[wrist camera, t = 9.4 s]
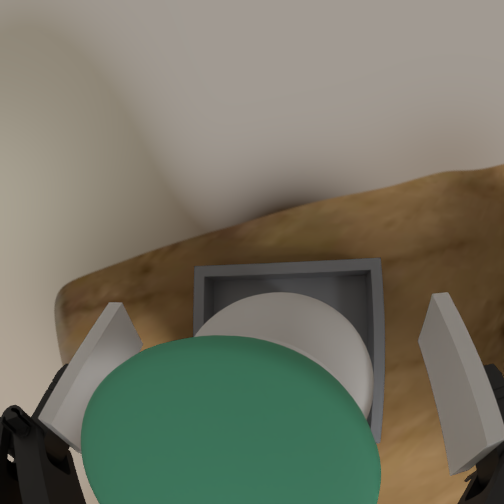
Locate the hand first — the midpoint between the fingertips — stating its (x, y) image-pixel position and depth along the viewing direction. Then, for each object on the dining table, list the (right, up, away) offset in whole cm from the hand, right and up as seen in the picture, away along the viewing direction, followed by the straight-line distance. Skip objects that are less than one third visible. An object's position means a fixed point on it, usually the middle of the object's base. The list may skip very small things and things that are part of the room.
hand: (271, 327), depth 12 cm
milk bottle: (+2, -5, +10) cm, 11 cm away
